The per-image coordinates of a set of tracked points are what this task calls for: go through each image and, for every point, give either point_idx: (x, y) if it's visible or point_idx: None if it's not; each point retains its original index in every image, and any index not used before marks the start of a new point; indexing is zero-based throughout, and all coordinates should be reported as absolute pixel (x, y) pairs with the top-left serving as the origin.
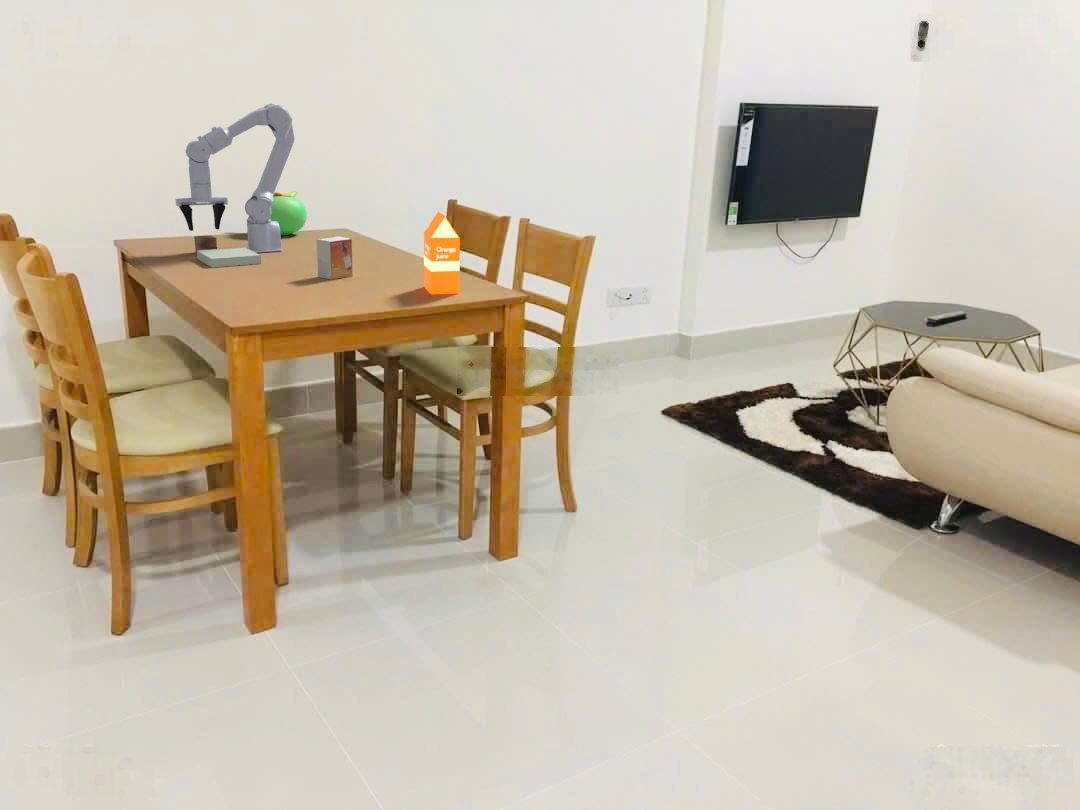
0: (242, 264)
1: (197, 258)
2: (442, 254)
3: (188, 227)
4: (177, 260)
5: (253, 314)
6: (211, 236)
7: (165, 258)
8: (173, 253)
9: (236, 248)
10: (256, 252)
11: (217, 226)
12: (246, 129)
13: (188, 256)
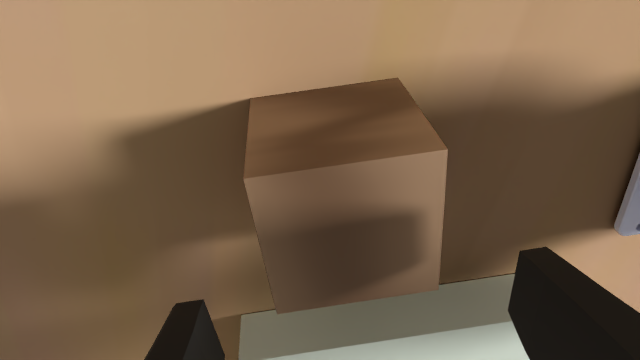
0: None
1: (241, 318)
2: None
3: (162, 327)
4: (121, 330)
5: None
6: (422, 226)
7: (28, 272)
8: (52, 103)
9: (497, 340)
10: (638, 229)
11: (528, 348)
12: None
13: (187, 238)
